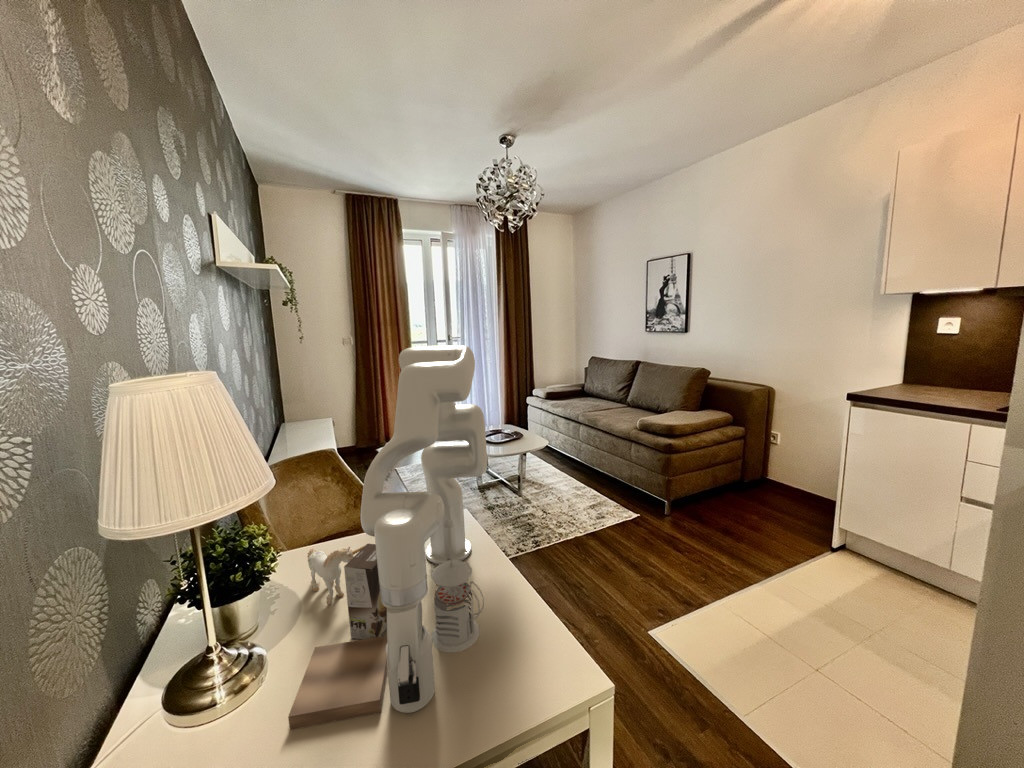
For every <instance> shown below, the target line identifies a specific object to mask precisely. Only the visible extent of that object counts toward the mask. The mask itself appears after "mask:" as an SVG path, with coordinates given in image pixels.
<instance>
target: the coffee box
mask: <svg viewBox="0 0 1024 768" xmlns="http://www.w3.org/2000/svg"><path fill="white" fill-rule="evenodd" d="M363 546H364V547H363ZM363 546H362V547H363V548H362V549H361V550H360V551H359V552H357V553H355V554H354V555H353V556H354V557H353V558H352V559H351V560H350V561H349V562H348V563H345V565H344V566H343V569H344V577H345V578H344V579H345V590H346V600H347V601H346V602H347V609H348V610H347V611H348V621H349V630H350V631H349V632H350V633H349V634H350V638H352V639H357V640H363V639H369V638H376V637H382V636H383V634H384V633H385V631H387V607H385V606H384V605H383V604H382V602H381V596H380V585H379V575H378V565H377V554H376V543H370V544H369V543H367V544H366V545H363Z"/></svg>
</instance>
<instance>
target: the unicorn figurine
mask: <svg viewBox="0 0 1024 768" xmlns="http://www.w3.org/2000/svg"><path fill="white" fill-rule="evenodd" d="M368 544H371V543H368ZM364 546H365V545H363V546H362V547H359V548H357V549H355V550H351V546H348V547H345V548H341V549H337V550H333V551H332V552H330V553H329V554H328V555H327V554H326V552H324V551H322V550H315V548H314V547H312V548H310V549H309V550H308V552H307V556H306V557H307V563H308V567H309V568H308V569H310V576H311V581H310V584H311V585H312V591H313V592H319V590H320V587H319V585H318V584H317V580H316V575H317V576H318V577H320V578H321V579H322V580H323V582H324V584H325V587H326V589H327V590H328V594H327V595H326V597H325V598H326V605H332V603H333V600H334V589H335V594H337V597H339V598H342V597H344V596H345V594H344V592H343V590H342V589H341V586H340V585H341V584H340V583H341V579H340V578H341V574H342V568H341V566H340V564H341V563H342V562H343V563H345V564H347V563H348V562H349V561H350V560H351V559H352V558H353V557H354V556H355V555H356V554H357V553H358V552H359V551H360V550H361V549H362V548H363V547H364ZM334 583H335V585H334ZM333 585H334V589H333Z"/></svg>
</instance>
